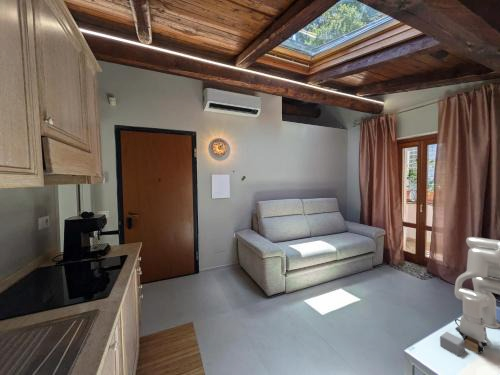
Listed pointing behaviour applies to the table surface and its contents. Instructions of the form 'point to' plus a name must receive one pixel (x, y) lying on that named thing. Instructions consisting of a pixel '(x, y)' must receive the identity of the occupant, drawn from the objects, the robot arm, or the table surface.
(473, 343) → the walnut block
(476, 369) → the table surface
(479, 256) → the robot arm
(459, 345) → the stoneware box
